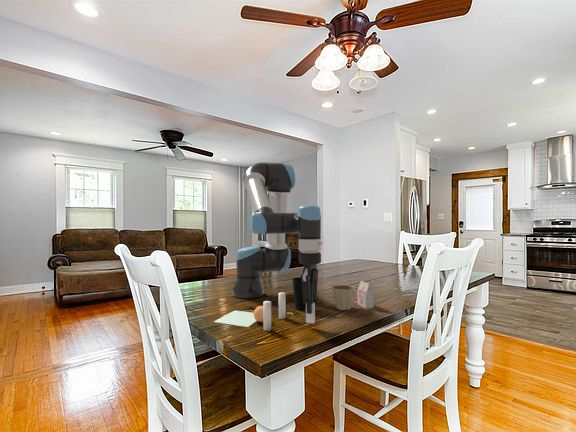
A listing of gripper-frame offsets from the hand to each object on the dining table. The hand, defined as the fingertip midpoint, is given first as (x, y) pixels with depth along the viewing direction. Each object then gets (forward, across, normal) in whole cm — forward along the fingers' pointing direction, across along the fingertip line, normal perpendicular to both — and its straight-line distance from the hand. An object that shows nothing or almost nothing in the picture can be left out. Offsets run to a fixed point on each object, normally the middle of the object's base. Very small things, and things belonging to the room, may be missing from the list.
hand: (310, 322), depth 96 cm
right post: (+2, +6, +13) cm, 15 cm away
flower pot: (+2, +26, -6) cm, 27 cm away
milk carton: (+2, +32, -14) cm, 35 cm away
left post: (+2, -6, +13) cm, 15 cm away
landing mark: (+2, 0, +27) cm, 27 cm away
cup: (+2, +20, +10) cm, 22 cm away
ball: (-1, 0, +18) cm, 18 cm away
